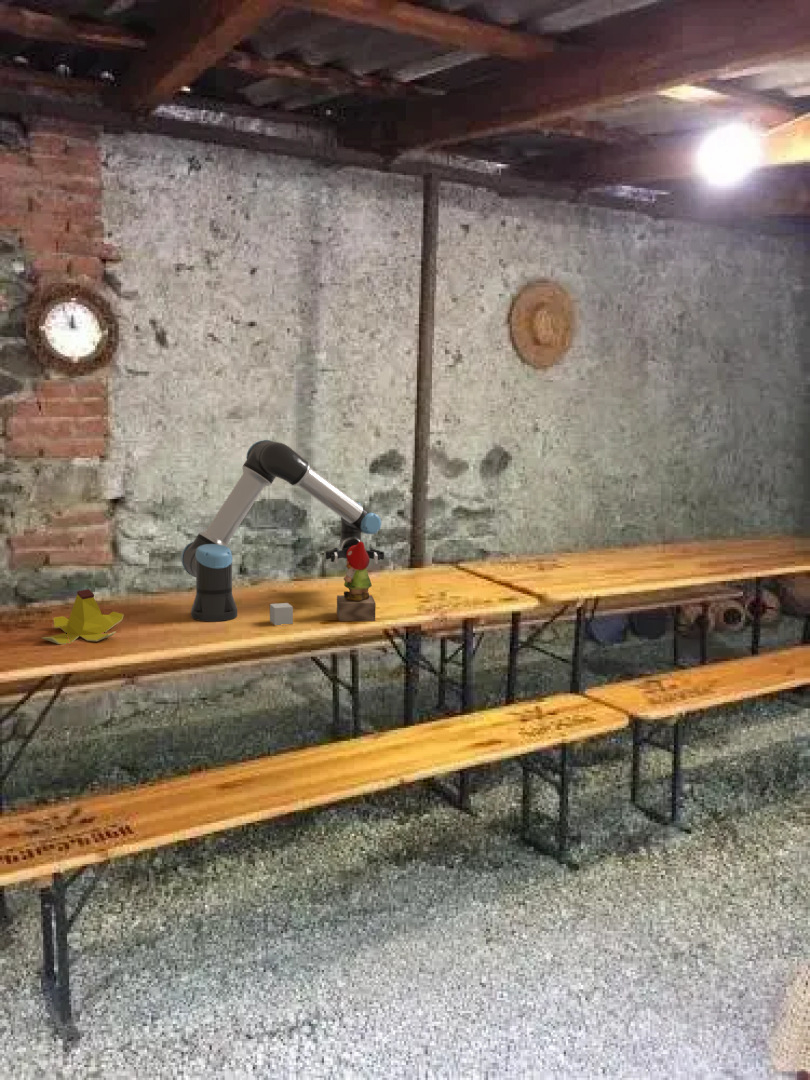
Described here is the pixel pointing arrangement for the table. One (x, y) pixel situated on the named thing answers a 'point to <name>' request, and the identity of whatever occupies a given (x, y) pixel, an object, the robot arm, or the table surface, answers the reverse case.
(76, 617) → the banana peel
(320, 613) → the table surface
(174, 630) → the table surface
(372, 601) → the pedestal
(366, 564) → the figurine
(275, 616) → the grey cube
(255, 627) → the table surface
